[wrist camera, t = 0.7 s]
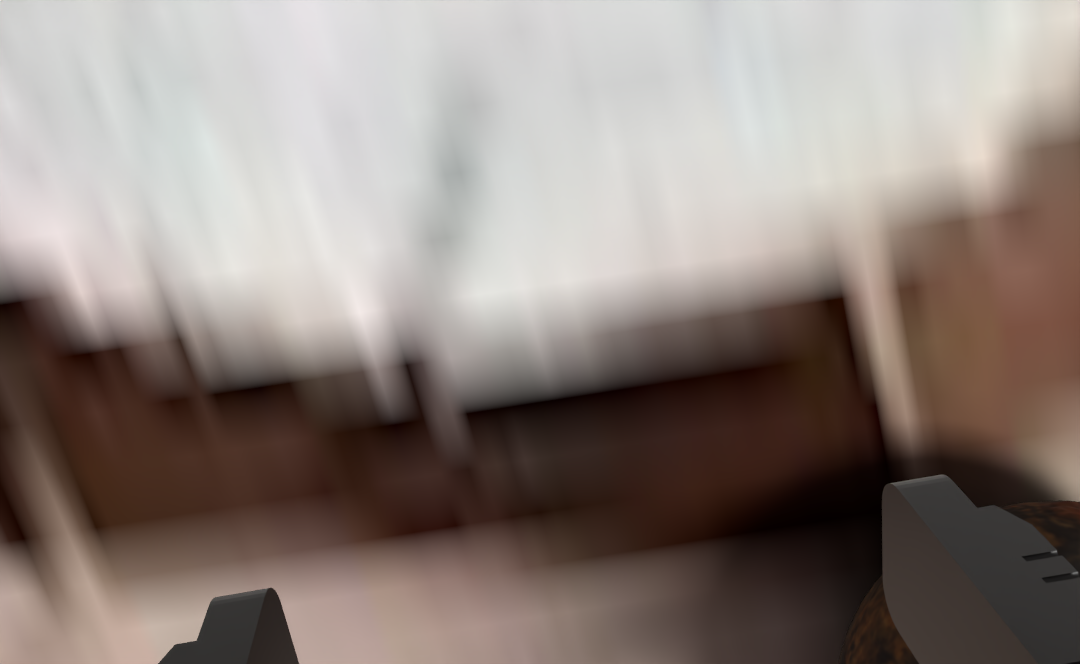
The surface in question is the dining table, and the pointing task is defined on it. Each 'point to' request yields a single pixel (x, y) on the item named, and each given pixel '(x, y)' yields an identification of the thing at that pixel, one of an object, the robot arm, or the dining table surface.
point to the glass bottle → (872, 639)
